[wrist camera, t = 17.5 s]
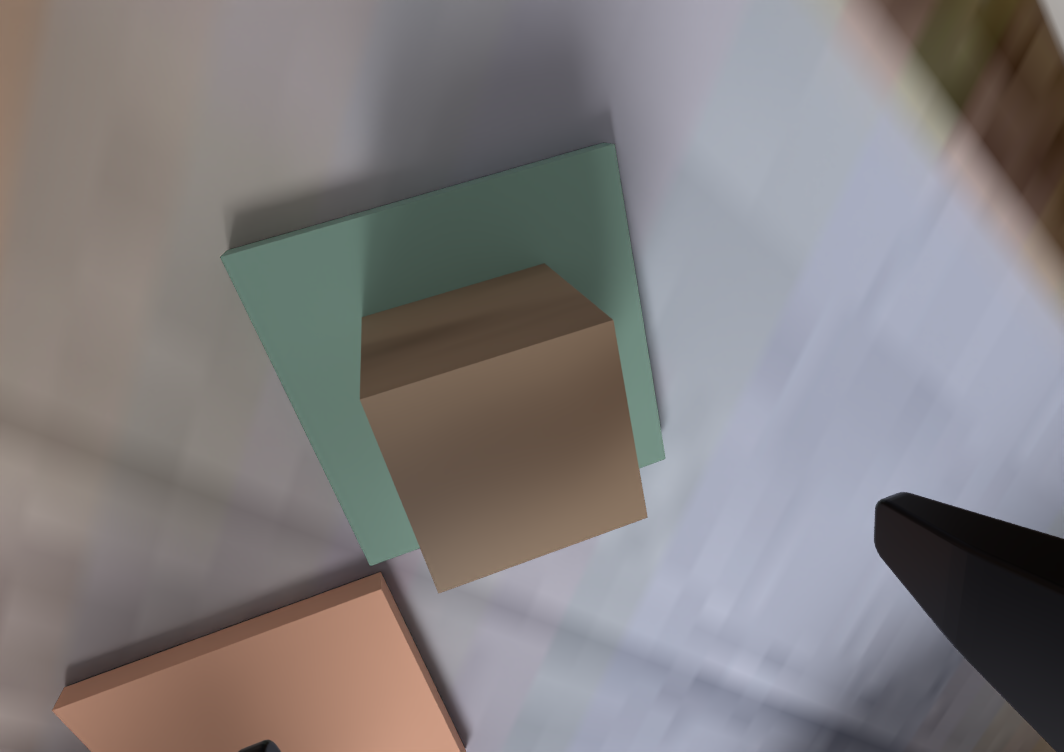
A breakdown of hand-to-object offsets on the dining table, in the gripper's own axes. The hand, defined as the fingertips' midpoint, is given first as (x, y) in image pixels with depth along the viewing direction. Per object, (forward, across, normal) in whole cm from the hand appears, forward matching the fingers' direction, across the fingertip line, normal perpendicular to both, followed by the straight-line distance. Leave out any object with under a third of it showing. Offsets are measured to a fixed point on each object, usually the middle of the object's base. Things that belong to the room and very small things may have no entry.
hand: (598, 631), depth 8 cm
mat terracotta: (+10, +10, +11) cm, 18 cm away
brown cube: (+10, 0, 0) cm, 10 cm away
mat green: (+10, 0, 0) cm, 10 cm away
